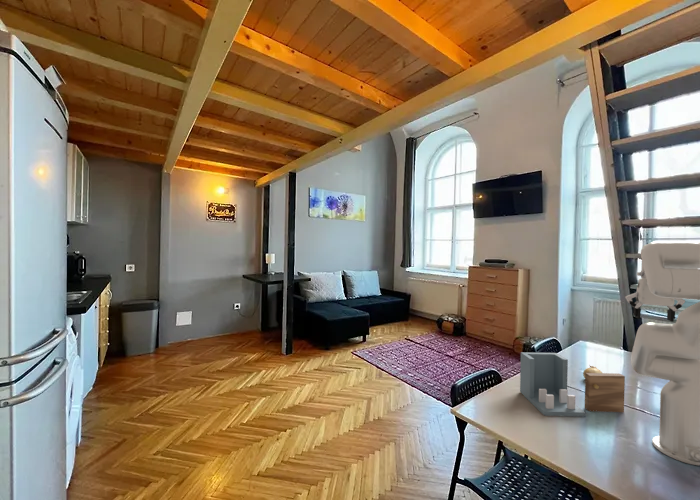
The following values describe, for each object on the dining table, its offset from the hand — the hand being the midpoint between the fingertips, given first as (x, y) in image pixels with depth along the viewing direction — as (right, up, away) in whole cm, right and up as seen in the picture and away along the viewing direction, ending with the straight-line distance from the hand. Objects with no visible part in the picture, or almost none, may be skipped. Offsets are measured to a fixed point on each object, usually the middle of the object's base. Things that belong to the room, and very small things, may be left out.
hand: (653, 319), depth 121 cm
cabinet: (-38, -35, +4) cm, 52 cm away
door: (-20, -35, -1) cm, 41 cm away
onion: (-5, -35, +23) cm, 42 cm away
